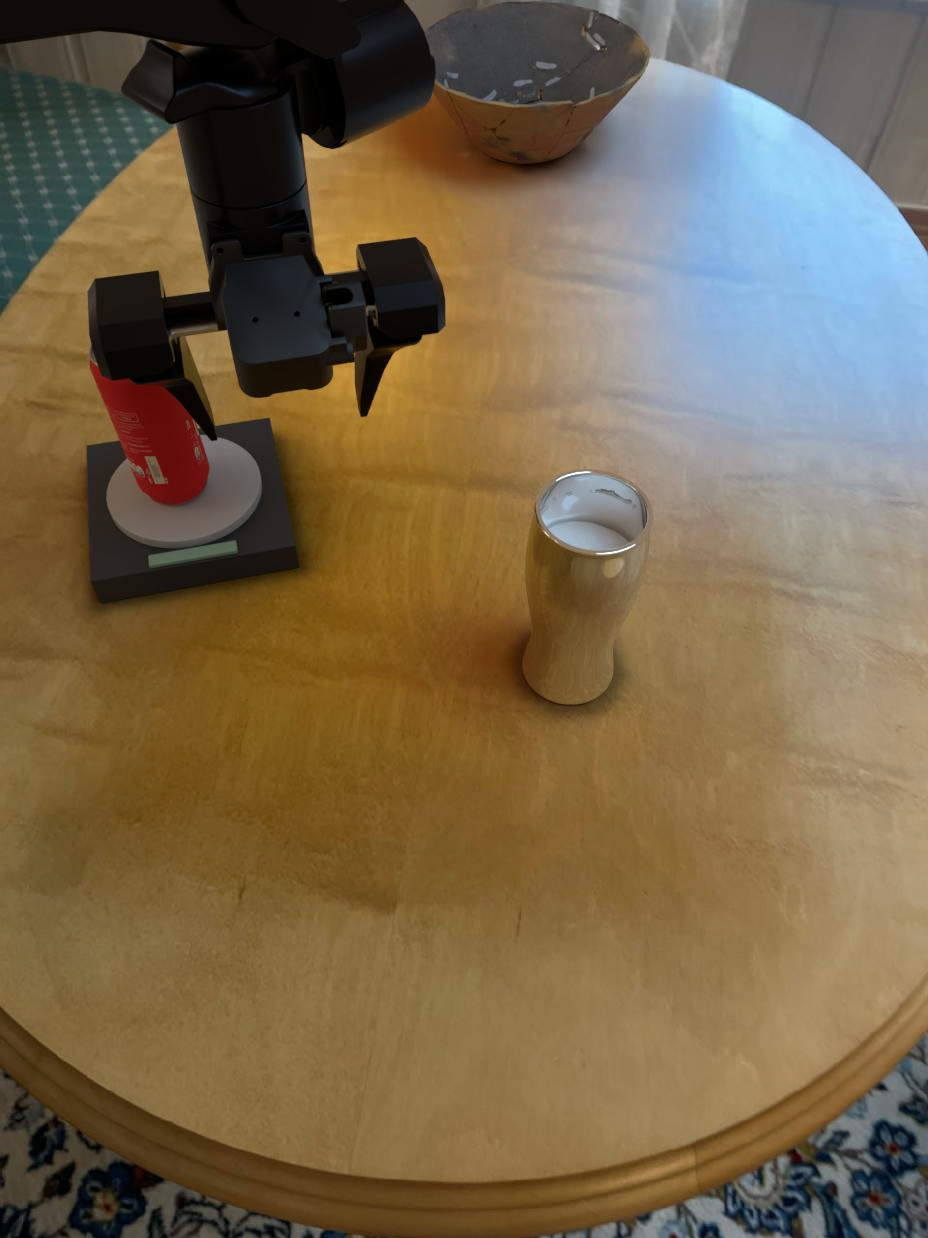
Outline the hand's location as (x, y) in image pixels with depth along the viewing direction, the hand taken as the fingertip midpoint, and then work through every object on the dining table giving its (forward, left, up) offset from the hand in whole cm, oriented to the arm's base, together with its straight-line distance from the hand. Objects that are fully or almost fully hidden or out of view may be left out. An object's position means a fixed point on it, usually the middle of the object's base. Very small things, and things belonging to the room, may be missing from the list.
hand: (289, 424), depth 60 cm
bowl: (+33, +57, -13) cm, 67 cm away
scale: (-8, +7, -13) cm, 17 cm away
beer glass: (+15, -13, -13) cm, 24 cm away
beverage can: (-8, +7, -10) cm, 15 cm away
